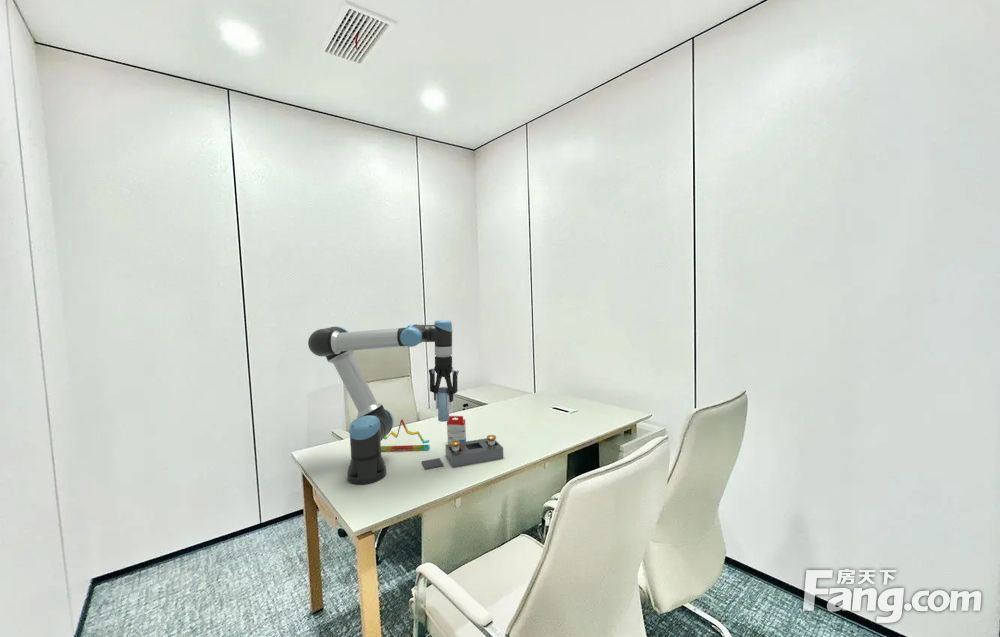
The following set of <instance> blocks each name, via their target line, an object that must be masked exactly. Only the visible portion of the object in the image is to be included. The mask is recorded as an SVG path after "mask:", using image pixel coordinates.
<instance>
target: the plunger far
mask: <svg viewBox="0 0 1000 637" xmlns="http://www.w3.org/2000/svg"><path fill="white" fill-rule="evenodd" d="M486 438H487V440H488V446H495V440H496V439H497V436H496V435H494V434H490V435H486Z"/></svg>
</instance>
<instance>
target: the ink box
mask: <svg viewBox="0 0 1000 637" xmlns="http://www.w3.org/2000/svg"><path fill="white" fill-rule="evenodd" d="M466 426H467V425H466V419H464V416H463V415H449V421H446V429H447V445H448V444H451V442H452V441H460V442H467V432H466V431H467V429H466Z"/></svg>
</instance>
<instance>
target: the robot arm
mask: <svg viewBox="0 0 1000 637" xmlns="http://www.w3.org/2000/svg"><path fill="white" fill-rule="evenodd" d="M421 343H434V367H433V368H429V369H428V374H429V392H431V393H433V400H434V401H435V409H436V410H438V388H440V386H441V380H442V379H443V378H444V380H445V383H446V387H447V388H448V392H449V394H448V395H447V410H449V411H450V410H451V409H452V402H454V394H457V393H458V376H459V375H458V374H459V369H458V370H455V369H454V367H453V323H452V321H451V320H449V319H448V320H447V319H444V320H443V319H438V320H437V319H436V320H434V323H433V324H408V325H407V326H406V327H398V328H384V329H370V330H361V331H359V330H358V331H357V330H356V331H348V330H347V329H346V328H344V327H341V326H331V327H326V328H319V329H316V330H315V331H314V332H312V333H311V334H310V336H309V338H308V340H307V345H308V349H309V351H310V352H311V353H312V354H314V356H318V357H322V358H323V357H325V358H326V360H327V362H328V363H331V364H333V365H334V367H335V370H336V372H337V373H338V376H339V378H340V379H341V382H342V383H343V385H344V386H345V388H346V391H347V392H348V395H349V397H350V398H351V401H352V402H353V405H354V406H355V408H356V410H357V412H358V413H357V416H356V418H355V419H353V420H352V421H351V422H350V424H349V425H350V426H349V441H350V442H349V443H350V463H349V466H348V471H347V476H346V479H347V482H348V483H351V484H353V485H366V484H371V483H375V482H377V481H381V479H383V478H384V477H385V476H386V475H387V467H386V465H385V461H384V459H383V457H382V452H381V446H382V445H381V444H382V443H381V442H382V441H383V440H384V437H385V436H386V437H387V436H389V434H390V433H391V432H392V428H393V427H394V416H393V413H392V412H390V411H389V410H388V409H385V408H384V405H383V404H382V403H380V402H377V400H376V398H375V396H374V394H373V392H372V390H371V388H370V386H369V384H368V382H367V381H366V378H365V377H364V374H363V372H362V371H361V369H360V367H359V365H358V363H357V361H356V359H355V356H354V355H353V353H354V351H361V350H373V349H386V348H387V349H388V348H397V347H398V348H399V347H407V348H412V347H416V346H418V345H419V344H421ZM435 374H436V375H435ZM451 375H452V376H451ZM451 377H452V379H451Z"/></svg>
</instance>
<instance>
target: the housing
mask: <svg viewBox="0 0 1000 637" xmlns="http://www.w3.org/2000/svg"><path fill="white" fill-rule="evenodd" d="M444 450H445V457H446V458H447V460H448V462H449V463H450V465H451V467H452V468H459V467H464V466H469V465H474V464H475V465H476V464H481V463H486V462H487V463H488V462H492V461H498V460H503V459H504V447H503V446H502V445H501V444H500V442H498V441H497V440H496V439H495V446H488V440H487V437H486V438H480V439H475V440H466V442H460V445H459V452H454V453H452V446H451V444H448V443H447V444H445V448H444Z"/></svg>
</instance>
